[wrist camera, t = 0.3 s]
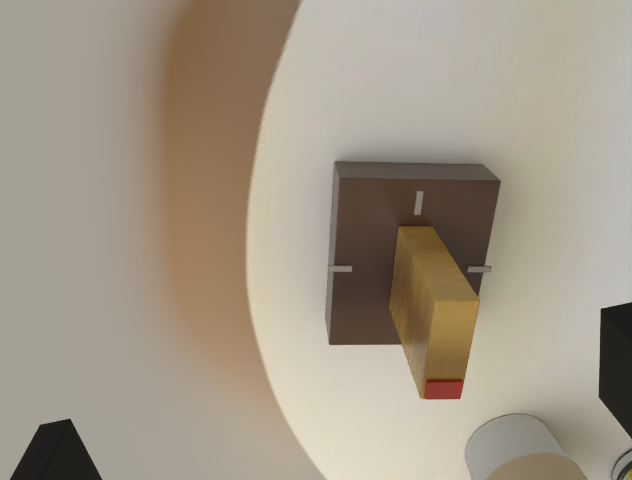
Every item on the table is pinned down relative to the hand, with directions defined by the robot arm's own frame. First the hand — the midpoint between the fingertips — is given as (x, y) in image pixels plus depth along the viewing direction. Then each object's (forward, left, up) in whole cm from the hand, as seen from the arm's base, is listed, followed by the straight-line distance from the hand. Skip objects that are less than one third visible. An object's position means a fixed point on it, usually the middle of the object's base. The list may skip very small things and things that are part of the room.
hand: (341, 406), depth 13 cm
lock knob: (+2, +8, -17) cm, 19 cm away
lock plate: (+2, +8, -20) cm, 22 cm away
